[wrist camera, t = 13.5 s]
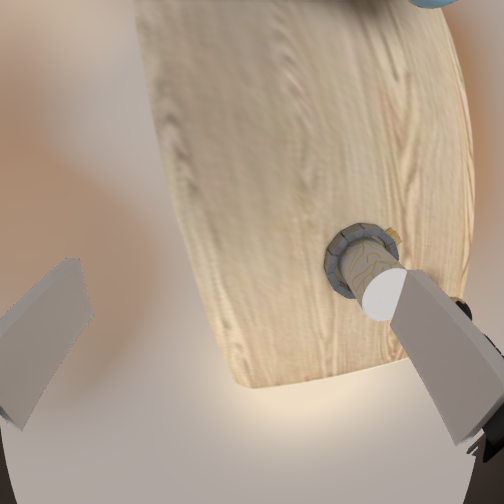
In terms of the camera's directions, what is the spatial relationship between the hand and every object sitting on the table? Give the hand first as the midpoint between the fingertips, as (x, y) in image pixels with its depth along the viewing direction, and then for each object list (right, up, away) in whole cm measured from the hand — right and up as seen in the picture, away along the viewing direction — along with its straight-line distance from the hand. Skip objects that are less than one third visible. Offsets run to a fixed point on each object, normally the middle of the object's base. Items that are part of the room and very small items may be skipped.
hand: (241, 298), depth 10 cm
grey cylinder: (+18, +1, +34) cm, 39 cm away
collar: (+18, 0, +34) cm, 39 cm away
